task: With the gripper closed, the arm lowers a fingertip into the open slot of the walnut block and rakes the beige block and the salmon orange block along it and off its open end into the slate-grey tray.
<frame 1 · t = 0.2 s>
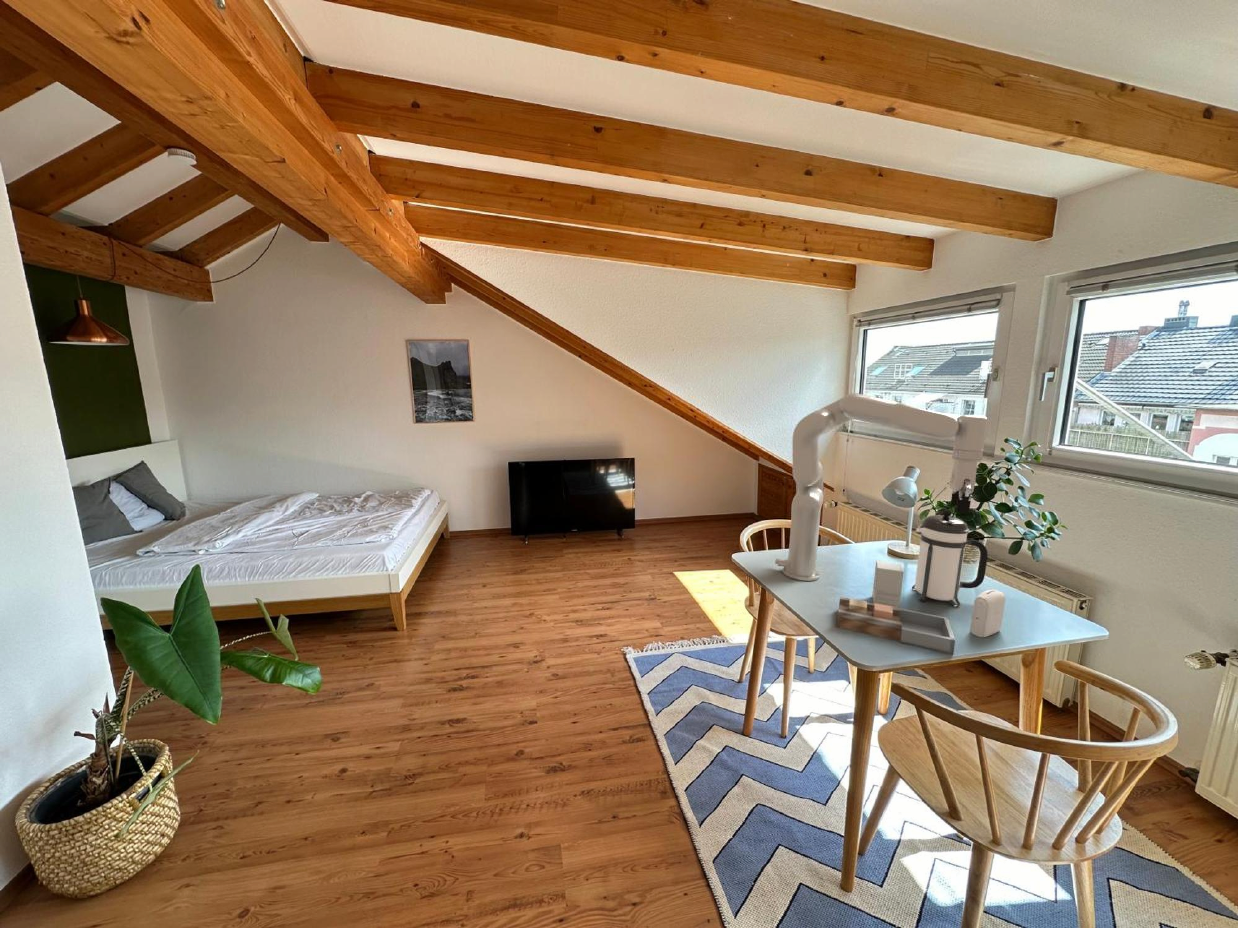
hand: (959, 509, 152), 31 cm above the table, tool pointing down, fingers open, 9 cm apart
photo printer: (984, 632, 139), on the table
salmon orange block: (882, 617, 140), point 3 cm above the table, touching slot block
coffee press: (938, 598, 161), on the table
beige block: (857, 612, 143), point 3 cm above the table, touching slot block
supplement box: (885, 603, 156), on the table
chip tray: (923, 636, 135), on the table
slot block: (867, 624, 142), on the table
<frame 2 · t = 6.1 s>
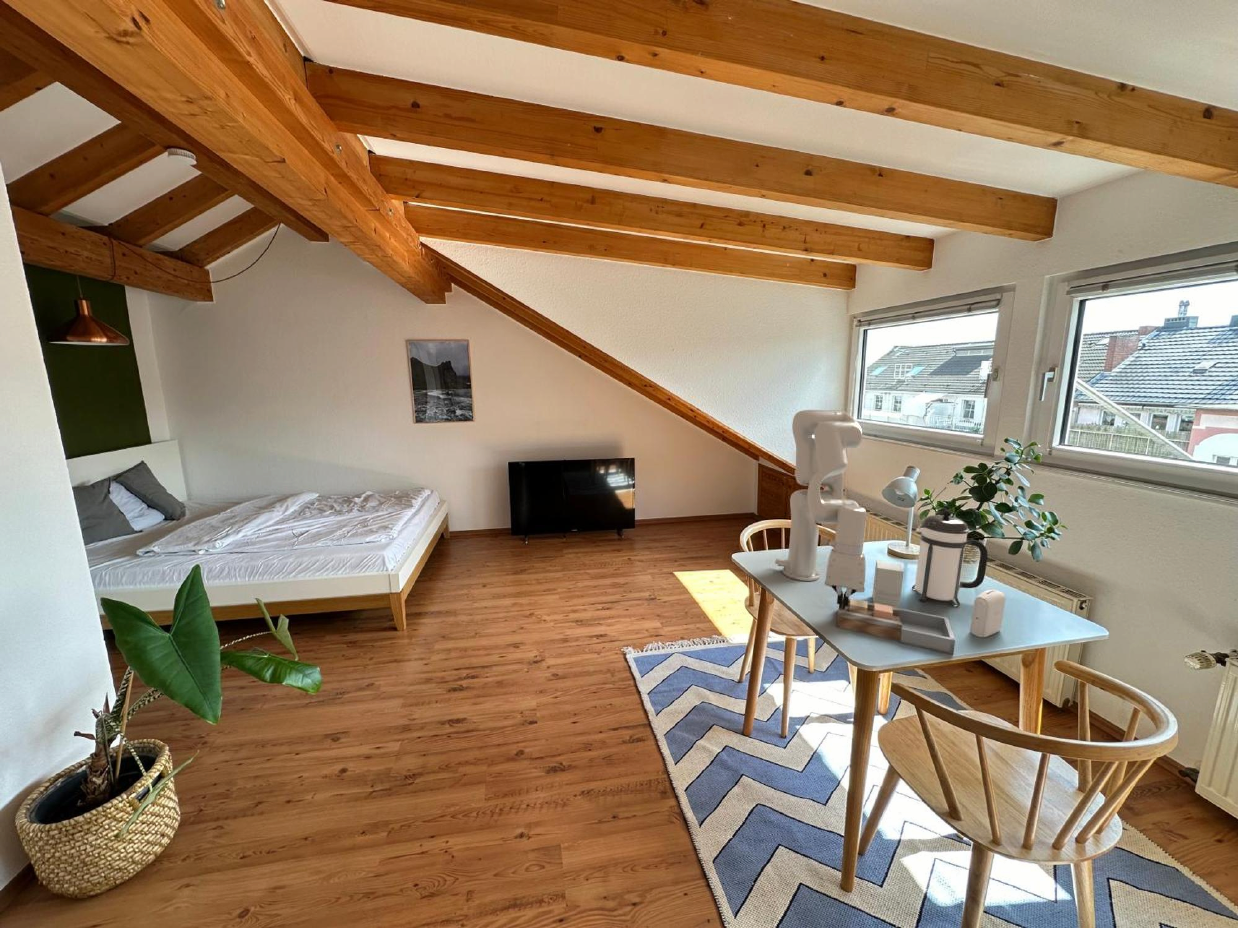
hand: (842, 606, 144), 4 cm above the table, tool pointing down, fingers closed
beige block: (857, 612, 142), point 3 cm above the table, touching gripper, slot block
everything else where it was.
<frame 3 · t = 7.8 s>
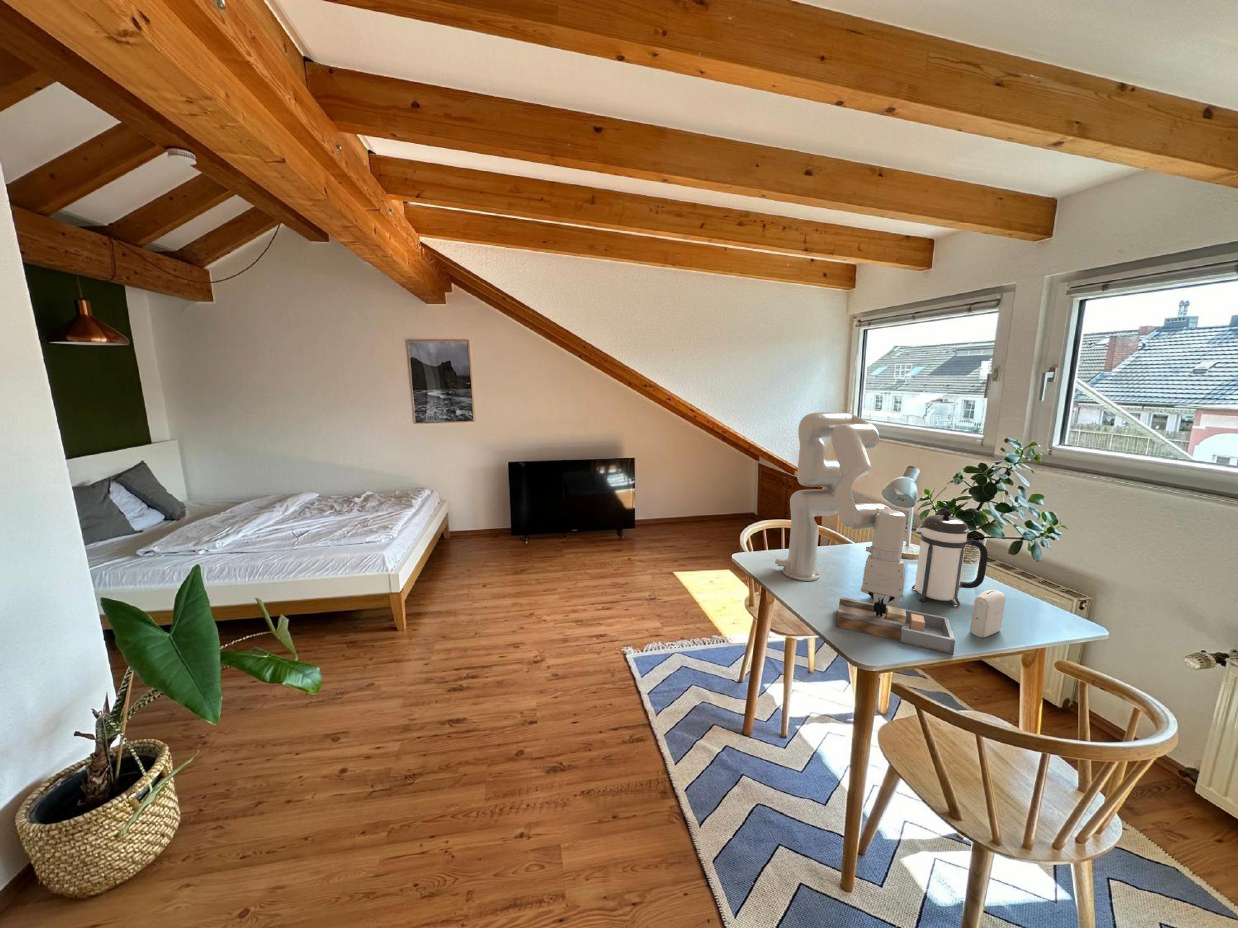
hand: (879, 614, 140), 4 cm above the table, tool pointing down, fingers closed
salmon orange block: (910, 624, 136), point 3 cm above the table, tilted 90°, touching chip tray
beige block: (895, 620, 138), point 3 cm above the table, touching gripper
everything else where it was.
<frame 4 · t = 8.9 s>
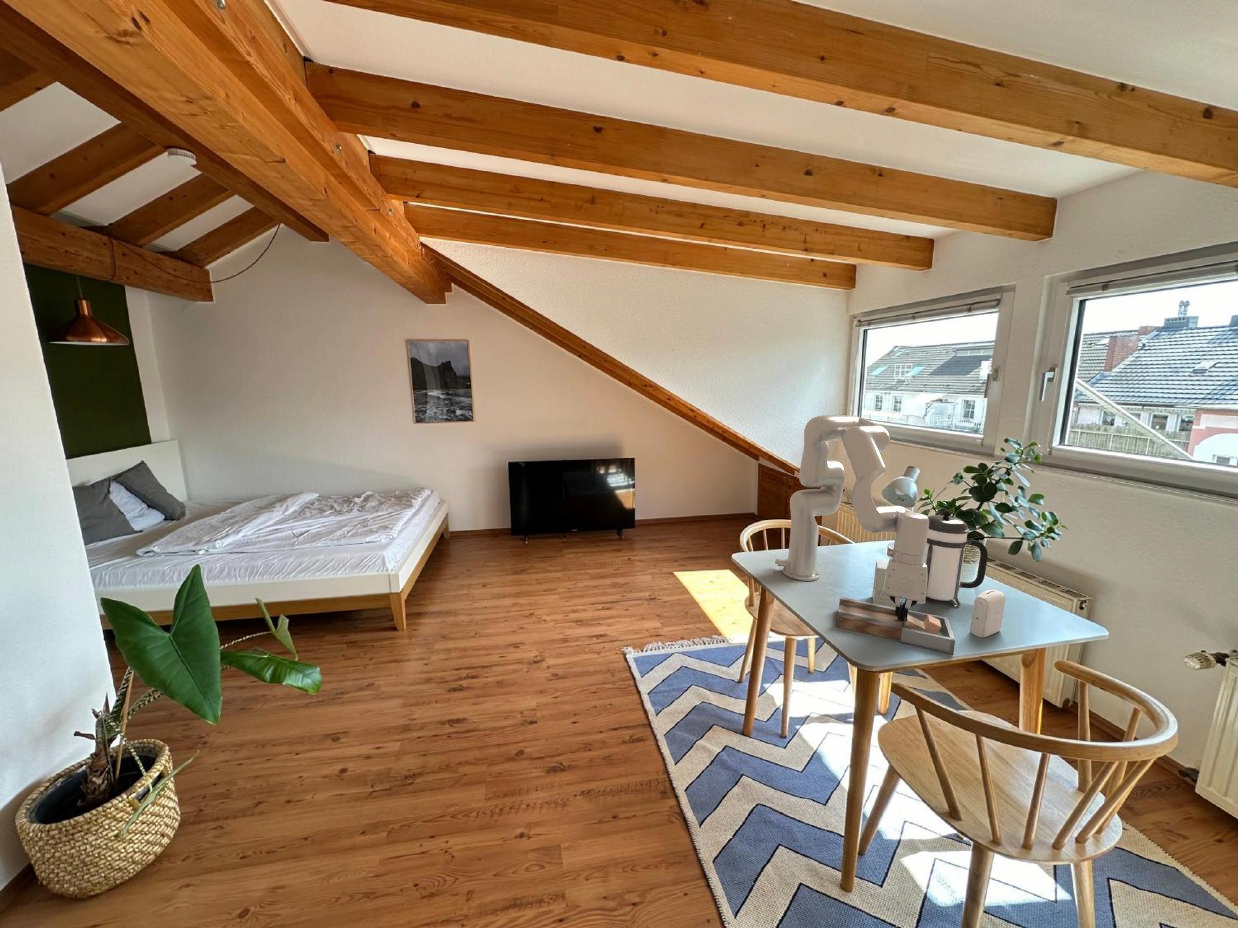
hand: (900, 618, 137), 4 cm above the table, tool pointing down, fingers closed
salmon orange block: (924, 624, 135), point 4 cm above the table, tilted 108°, touching beige block
beige block: (910, 629, 136), point 1 cm above the table, tilted 18°, touching gripper, salmon orange block
everything else where it was.
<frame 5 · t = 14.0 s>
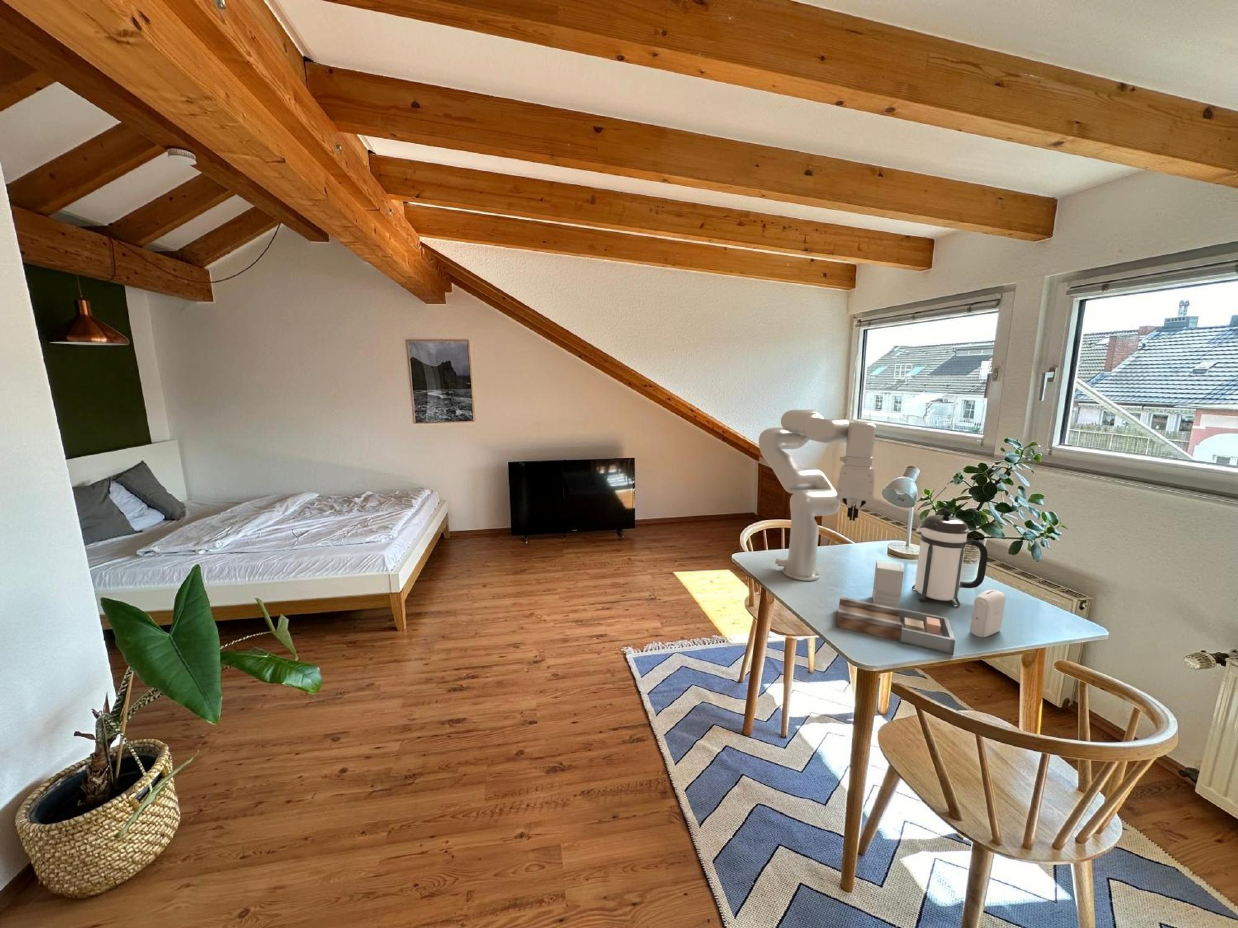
hand: (852, 519, 153), 27 cm above the table, tool pointing down, fingers closed
salmon orange block: (926, 627, 135), point 3 cm above the table, tilted 90°, touching chip tray
beige block: (912, 632, 136), point 1 cm above the table, touching chip tray
everything else where it was.
at the end: beige block inside the target area (3.2 cm from its centre), point 0.6 cm above the table; salmon orange block inside the target area (0.3 cm from its centre), point 2.8 cm above the table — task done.
